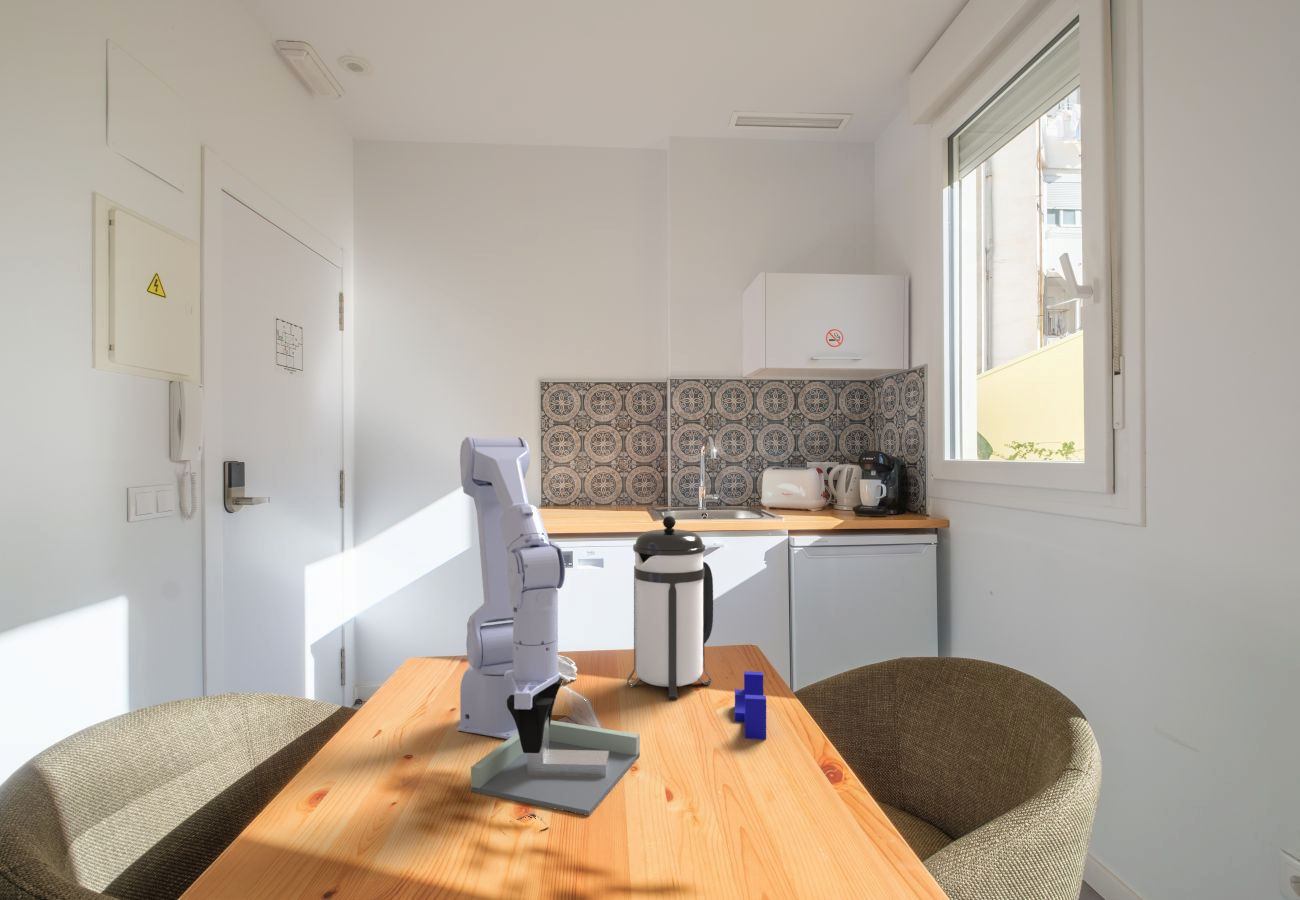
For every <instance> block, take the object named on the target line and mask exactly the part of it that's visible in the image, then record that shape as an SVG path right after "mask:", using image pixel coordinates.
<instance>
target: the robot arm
mask: <svg viewBox="0 0 1300 900" xmlns="http://www.w3.org/2000/svg"><path fill="white" fill-rule="evenodd" d="M459 451H460V453H459V467H460V480H461V486H462V490H463V493H464V494H465V495H466V496H469V497H471V498H473V501H474V504H475V510H476V518H477V519H476V520H477V529H478V531H477V532H478V543H479V554H480V566H481V580H482V590H483V604H482V605H481V606H479V607H478V608H477V609H476V610H475V611H474V612H473V613H472V614H471V615H470V616H469V617H468V619H467V620H468V621H467V622H466V631H467V632H466V643H465V644H466V645H465V647H466V655H467V661H468V664H469V666H468V667H467V669H466V670H465V671H464V673H463V675H462V678H461V680H460V681H461V682H460V690H459V696H460V697H459V699H460V700H459V701H460V702H459V703H460V706H459V707H460V715H459V717H460V719H459V720H460V721H459V722H460V724H459V725H458V726H457V727H456V729H457V731H460V732H466V733H470V734H471V733H473V734H477V735H482V736H483V735H484V736H489V737H494V738H500V739H506V740H508V739H509V738H510V737H512V736H513V735H515V734H516V733H517V732H518V733H519V738H520V742H521V746H522V750H523V753H539V752H540V749H541V746H542V741H543V734H544V727H545V721H546V717H547V716H549V727H550V722H551V720H552V715H553V710H554V706H555V702H556V698H557V696H558V692H559V691H560V690H559V689H560V687H561V686H562V684H563V679H562V678H560V677H559V670H558V655H559V653H558V652H559V645H558V643H559V638H558V637H559V633H558V631H559V629H558V628H559V626H558V625H559V621H558V620H559V617H558V615H559V613H558V612H559V607H558V605H559V603H558V602H559V598H558V597H559V592H558V589H559V590H560V589H561V588H562V587H563V586H564V582H565V578H566V564H565V558H564V554H563V551H562V548H561V546H560V545H559V544H558V543H556V542H555V540H554V539H549V535H548V533H547V530H546V526H545V524H544V520H543V519H542V515H541V512H540V511H539V509H538V507H536V506H535V505H533V504H530V503H529V498H528V494H527V489H526V484H525V478H526V475H527V473H528V470H529V466H530V459H531V455H530V446H529V443H528V442H527V441H526V440H525V437H522V436H521V437H520V436H519V437H515V438H514V437H471V436H466V437H465V438H463V441H461V445H460V450H459ZM506 621H507V622H506ZM508 621H509V622H508ZM510 621H512V622H510ZM497 622H499V623H497ZM500 622H502V623H500ZM488 623H490V624H488ZM491 623H494V624H491ZM483 624H486V625H483Z"/></svg>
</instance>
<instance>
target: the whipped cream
mask: <svg viewBox="0 0 1300 900" xmlns="http://www.w3.org/2000/svg"><path fill="white" fill-rule="evenodd" d="M558 670H559V678H561V679H562V680H564V681H566V682H567V683H569V682H570V681H571V680H572V681H576V680H577V676H578V674H577V671H578V668H577V666H576V663H575V662H574V660H572V659H571V658H569V657H567V656H563V655H561V654H558ZM575 676H576V678H575ZM575 679H576V680H575Z"/></svg>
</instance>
